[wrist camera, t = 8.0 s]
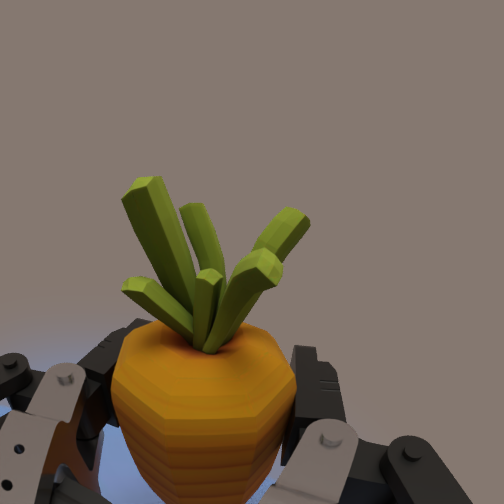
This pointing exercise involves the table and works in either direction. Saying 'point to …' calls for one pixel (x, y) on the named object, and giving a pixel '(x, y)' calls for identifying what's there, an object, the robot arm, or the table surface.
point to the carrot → (202, 356)
